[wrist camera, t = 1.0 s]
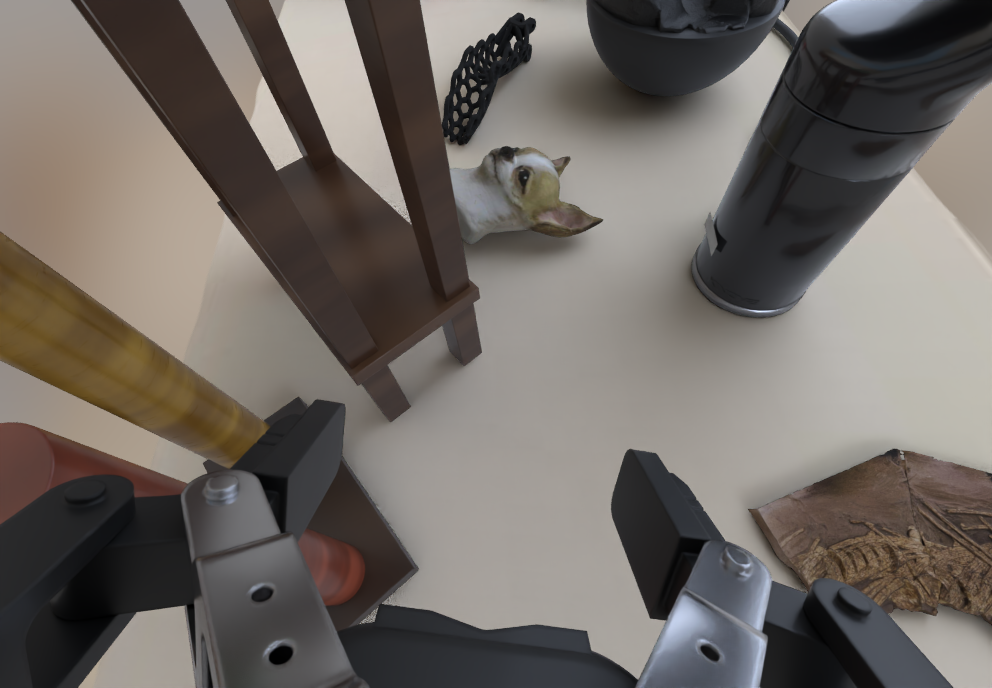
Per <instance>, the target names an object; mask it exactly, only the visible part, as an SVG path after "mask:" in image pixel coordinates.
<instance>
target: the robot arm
mask: <svg viewBox="0 0 992 688" xmlns="http://www.w3.org/2000/svg"><path fill="white" fill-rule="evenodd" d="M789 1H790V0H785V3H784V7H783V9H782V11H783V12H784V10H785V8H786V7H787V5H788V3H789ZM773 27H774V28H775V29H776V30H777V31H779V32H780V33H781V34H782V35H783V36H784V37H785V38H786V39H787V40H788V41H789V43H790V44H791V45H792V47H793V50H792V52H791V54H790V56H789V58H788V61H787V63H786V65H785V67H784V69H783V71H782V73H781V75H780V78H779V80H778V82H777V84H776V86H775V88H774V90H773V92H772V94H771V97H770V99H769V101H768V103H767V105H766V107H765V109H764V111H763V114H762V116H761V118H760V120H759V123H758V125H757V127H756V129H755V131H754V133H753V135H752V137H751V139H750V142H749V144H748V146H747V148H746V150H745V152H744V154H743V156H742V158H741V161H740V163H739V165H738V167H737V169H736V171H735V173H734V175H733V178H732V180H731V182H730V184H729V186H728V188H727V190H726V192H725V194H724V197H723V199H722V201H721V203H720V205H719V207H718V209H717V211H716V213H715V216H714V218H713V220H712V217H711V213H709V215H708V218H707V220H706V222H705V224H704V225H705V229H706V234H705V236H704V238H703V241H702V243H701V244H700V245H699V247H698V248H697V250H696V253H695V255H694V257H693V260H692V274H693V278H694V280H695V283H696V284H697V286H698V288H699V289H700V290H701V292H702V293H703V294H704V295H705V296H706V297H707V298H708V299H709V300H711V301H712V302H713V303H715V304H716V305H718V306H719V307H721V308H723V309H725V310H727V311H730V312H732V313H735V314H739V315H743V316H748V317H770V316H775V315H779V314H782V313H784V312H786V311H788V310H789V309H791V308H792V307H793V306H794V305H795V304H796V303H797V302H798V301H799V300H800V299H801V298H802V296H803V295H804V294H805V292H806V290H807V289H808V288H809V286H810V285H811V284H812V283H813V282H814V281H815V280H816V278H817V277H818V276H819V275H820V274H821V273H822V272H823V271H824V270H825V268H826V267H827V266H828V265H829V264H830V263H831V261H832V260H833V259H834V258H835V257H836V256H837V255H838V253H839V252H840V251H841V250H842V249H843V248H844V246H845V245H846V244H847V243H848V242H849V241H850V240H851V238H852V237H853V236H854V235H855V234H856V233H857V231H858V230H859V229H860V228H861V227H862V226H863V225H864V223H865V222H866V221H867V220H868V219H869V218H870V216H871V215H872V214H873V213H874V212H875V211H876V209H877V208H878V207H879V206H880V205H881V204H882V203H883V201H884V200H885V199H886V198H887V197H888V196H889V194H890V193H891V192H892V191H893V190H894V189H895V188H896V186H897V185H898V184H899V183H900V182H901V181H902V179H903V178H904V177H905V176H906V175H907V174H908V173H909V171H910V170H911V169H912V168H913V167H914V165H915V164H916V163H917V162H918V161H919V159H920V158H921V157H922V156H923V155H924V154H925V152H926V151H927V150H928V149H929V148H930V147H931V146H932V144H933V143H934V142H935V141H936V140H937V139H938V137H939V136H940V135H941V134H942V133H943V132H944V130H945V129H946V128H947V127H948V126H949V125H950V124H951V123H952V121H953V120H954V119H955V118H956V117H957V116H958V115H959V114H960V113H961V112H962V111H963V109H964V108H965V107H966V106H967V105H968V104H969V103H970V101H971V100H972V99H973V98H974V97H975V96H976V95H977V94H978V93H979V92H980V91H982V90H983V89H984V88H986V87H987V86H988V85H989V84H991V83H992V0H835V1H833V2H831V3H830V4H828V5H826V6H825V7H823V8H822V9H821V10H819V11H818V12H817V13H816V14H815V15H814V16H813V17H812V18H811V19H810V21H809V22H808V23H807V24H806V26H805V27H804V29H803V30H802V32H801V34H800V36H799V37H797V35H796V34H795V33H794V32H793V31H792V30H791V29H790V28H789V27H788V26H787V25H785V24H784V23H783V22H782V21H781V20H779V19H777V20H776V22H775V24H774V26H773ZM344 422H345V405H344V404H343V403H337V402H331V401H324V400H318V399H317V400H315V401H314V402H313V403H312V404H311V406H310V407H309V408H308V409H307V410H306V411H305V412H304V413H303V415H297V414H291V415H289V416H287V417H284V418H282V419H280V420H278V421H276V422H275V423H274V424H273V425H272V426H271V427H270V428H269V429H268V430H267V431H266V433H265V434H263V435H262V436H261V437H260V438H259V439H258V440H257V443H254V444H253V445H252V446H251V448H250V449H249V450H248V451H247V452H246V453H245V454H244V455H243V456H242V457H241V458H240V459H239V460H238V461H237V462H236V463H235V464H234V465H233V466H232V467H231V468H230V469H229V470H220V471H215V472H211V473H207V474H204V475H202V476H200V477H198V478H196V479H194V480H192V481H191V482H190V483H188V484H187V485H186V486H185V488H184V489H183V491H182V493H181V494H177V495H166V496H150V497H135V495H134V485H133V483H132V482H131V481H130V480H129V479H127V478H125V477H122V476H118V475H109V474H103V475H91V476H86V477H81V478H77V479H73V480H70V481H67V482H65V483H62V484H60V485H57V486H56V487H54V488H52V489H50V490H48V491H47V492H45V493H44V494H42V495H41V496H40V497H38V498H37V499H35V500H34V501H33V502H31V503H30V504H28V505H27V506H26V507H24V508H23V509H21V510H20V511H19V512H17V513H16V514H14V515H13V516H12V517H10V518H9V519H7V520H6V521H5V522H3V523H2V524H0V688H78V687H79V685H80V684H81V683H82V682H83V680H84V679H85V678H86V676H87V675H88V674H89V673H90V671H91V670H92V669H93V667H94V666H95V665H96V664H97V662H98V661H99V660H100V659H101V657H102V656H103V655H104V653H105V652H106V651H107V650H108V648H109V647H110V646H111V645H112V643H113V642H114V641H115V639H116V638H117V637H118V636H119V634H120V633H121V632H122V630H123V629H124V628H125V627H126V625H127V624H128V623H129V622H130V620H131V619H132V618H133V616H134V615H135V614H136V612H141V611H148V610H155V609H163V608H170V607H177V606H184V605H185V614H186V621H187V628H188V635H189V642H190V649H191V656H192V663H193V670H194V677H195V685H196V688H759V687H760V688H953V687H952V685H951V684H950V683H949V682H948V681H947V680H946V679H945V678H944V677H943V675H942V674H941V673H940V672H939V671H938V670H937V669H936V668H935V666H934V665H933V664H932V663H931V662H930V661H929V660H928V659H927V657H926V656H925V655H924V654H923V653H922V652H921V651H920V650H919V649H918V647H917V646H916V645H915V644H914V643H913V642H912V641H911V640H910V638H909V637H908V636H907V635H906V634H905V633H904V632H903V631H902V630H901V628H900V627H899V626H898V625H897V624H896V623H895V622H894V621H893V619H892V618H891V617H890V616H889V615H888V614H887V613H886V612H885V611H884V610H883V609H882V608H881V607H880V606H879V605H878V604H877V603H876V602H875V601H873V600H872V599H871V598H870V597H868V596H867V595H865V594H864V593H862V592H861V591H859V590H857V589H855V588H854V587H852V586H850V585H847V584H845V583H843V582H840V581H837V580H833V579H829V578H819V579H816V580H815V581H814V582H813V584H812V586H811V588H810V590H809V592H808V594H807V593H804V592H801V591H798V590H796V589H793V588H790V587H788V586H785V585H782V584H779V583H777V582H774V581H772V577H771V574H770V572H769V570H768V569H767V567H766V566H765V565H764V564H763V563H762V562H761V561H760V560H759V559H758V558H757V557H756V556H754V555H753V554H752V553H750V552H749V551H747V550H745V549H743V548H742V547H740V546H737V545H735V544H732V543H730V542H726V541H725V540H724V538H723V537H722V535H721V534H720V532H719V531H718V529H717V528H716V526H715V525H714V524H713V522H712V521H711V519H710V518H709V516H708V515H707V513H706V512H705V511H703V507H702V506H701V504H700V503H699V502H698V501H697V500H696V497H695V496H694V494H693V493H692V491H691V490H690V488H689V487H688V485H686V484H685V483H684V482H683V481H682V480H680V479H679V478H678V477H677V476H676V475H674V474H673V473H669V472H668V470H667V469H666V467H665V466H664V464H663V463H662V461H661V460H660V458H659V456H658V455H657V454H656V453H652V452H645V451H639V450H633V449H629V450H628V451H627V452H626V453H625V456H624V459H623V462H622V465H621V469H620V472H619V475H618V479H617V482H616V485H615V489H614V492H613V496H612V502H611V512H612V518H613V521H614V523H615V526H616V529H617V531H618V534H619V537H620V539H621V542H622V545H623V547H624V550H625V553H626V555H627V558H628V561H629V563H630V566H631V569H632V571H633V574H634V577H635V579H636V582H637V584H638V587H639V590H640V592H641V595H642V598H643V600H644V603H645V606H646V608H647V611H648V614H649V616H650V618H651V619H659V620H666V623H665V625H664V627H663V629H662V631H661V633H660V636H659V638H658V640H657V642H656V644H655V646H654V648H653V651H652V653H651V655H650V657H649V659H648V661H647V663H646V665H645V668H644V670H643V672H642V674H641V676H640V678H639V680H637V679H636V678H635V677H634V676H633V675H632V674H630V673H629V672H628V671H626V670H625V669H624V668H622V667H621V666H620V665H618V664H616V663H615V662H613V661H612V660H610V659H608V658H606V657H604V656H602V655H600V654H598V653H596V652H594V651H591V648H590V643H589V638H588V634H587V631H582V630H575V629H567V628H559V627H552V626H544V625H529V626H520V627H511V628H503V629H494V630H482V629H479V628H476V627H473V626H471V625H468V624H466V623H463V622H460V621H458V620H455V619H452V618H450V617H447V616H444V615H442V614H439V613H436V612H434V611H430V610H423V609H415V608H407V607H400V606H392V605H385V604H379V607H378V611H377V615H376V618H375V622H371V623H364V624H359V625H355V626H351V627H348V628H345V629H342V630H339V631H337V632H336V629H335V627H334V625H333V623H332V620H331V618H330V616H329V613H328V611H327V609H326V606H325V604H324V602H323V600H322V597H321V595H320V593H319V590H318V588H317V586H316V584H315V581H314V579H313V577H312V574H311V572H310V570H309V568H308V565H307V563H306V561H305V558H304V556H303V554H302V551H301V549H300V547H299V545H298V541H299V540H300V538H301V536H302V534H303V533H304V531H305V529H306V527H307V526H308V524H309V522H310V520H311V519H312V517H313V515H314V513H315V512H316V510H317V508H318V506H319V504H320V503H321V501H322V499H323V497H324V496H325V494H326V492H327V490H328V489H329V487H330V485H331V483H332V482H333V480H334V478H335V476H336V474H337V471H338V469H339V465H340V461H341V456H342V446H343V434H344Z"/></svg>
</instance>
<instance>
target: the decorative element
mask: <svg viewBox="0 0 992 688" xmlns="http://www.w3.org/2000/svg"><path fill="white" fill-rule="evenodd" d="M524 20H525V19H524V15H523V14H521V13H517V14H515V15H514V16H513V17H510V18H509V19H508V21H507V22H506V23H505V24H504V25H503V27H502V28H501V29H500V31H499V32H498V33H497V34H496V36H495V34H493V33H492V34H490V35H489V36H488V38H487V40H486V42H485V41H484V40H482V39H481V40H480V41H478V43H477V45H476V46H475V48H474V47H473V46H469V47H468V48H467V49H466V50H465V51H464V54H463V56H462V59H461V62H460V64H459V66H458V69H456V70H455V71H454V72H453V75H452V78H451V86H450V92H449V95H448V96H447V97H446V99H445V104H444V118H443V122H442V129H443V135H444V137H447V136H448V135H449V136H450V142H454V141H455V140H458V141H457V143H458V144H459V145H461V144H462V143H465V144H467V142H468V141H469V139H470V138H471V136H472V135H473V133H474V132H475V131H476V129H477V128H478V126H479V124H480V123H481V121H482V119H483V117H484V115H485V113H486V111H487V108H488V106H489V104H490V101H491V98H492V95H493V92H494V89H495V87H496V84H497V81H498V79H499V78H500V77H502V76H504V75H506V74H508V73H509V72H511V71H512V70H513V69H515V68H516V67H517V66H518V65H519V64H520V63H521V62H522V61H529V60H530V58H531V53H532V45H530V44H528V43H529V34H530V33H532V32H533V31H534V30H535V27H536V21H535V19H533V18H531V17H529V18H528V19H527V20H525V21H524ZM513 36H516V40H517V42H516V43H515V45H514V50H512V48H511V44H510V40H511V39H512V37H513ZM523 37H524V40H523ZM495 44H497V45H498V48H497V50H496V52H494V51H493V49H494V45H495ZM489 45H490V46H489ZM518 47H519V52H518ZM479 50H480V52H479ZM484 51H485V59H484V57H483V55H484ZM478 52H479V53H478ZM468 54H469V57H468ZM490 55H491V57H492V60H493V62H491V61H490ZM499 56H500V57H502V59H501V60H500V61H497V57H499ZM467 57H468V61H467V62H466V60H467ZM508 57H509V58H508ZM473 58H475V64H474V63H473ZM507 58H508V61H507ZM480 61H481V63H482V66H483V68H482V67H481V66H480ZM488 66H490V68H488ZM470 67H471V69H472V70H473V73H474V74H472V73H470ZM463 68H465V73H466V75H465V78H464V79H462V71H463ZM478 71H479V72H480V73H479V72H478ZM456 79H457V85H456ZM470 79H472V80H474V81H475V82H476V83H477V84H476V86H474V87H472V88H471V86H470V83H469V80H470ZM480 79H482V80H480ZM462 85H465V86H466V89H467V94H466V97H463V98H462V96H461V92H460V89H461V86H462ZM481 85H487V87H486V88H485V89H484V90H483V91H482V89H481ZM455 87H456V88H455ZM474 92H478V94H479V98H478V101H477V102H476V103H473V104H472V102H471V100H470V98H471V95H472V93H474ZM454 94H456V97H457V104H456V106H454V102H453V97H454ZM485 98H486V99H485ZM462 103H467V105H468V107H469V109H468V112H467V113H462V110H461V106H462ZM478 107H479V110H478V112H477V114H473V115H472V113H473V110H474V109H476V108H478ZM454 111H456V112H457V114H458V116H459V118H458V120H457V121H456V122H454V119H453V113H454ZM466 118H468V119H469V121H468V122H467V125H466V126H463V125H462V122H463V119H466ZM448 120H449V124H450V126H449V129H448ZM454 127H458V128H459V132H458V134H454V132H453V131H454ZM464 132H465V134H464ZM463 134H464V136H463ZM462 136H463V137H462Z"/></svg>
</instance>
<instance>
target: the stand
mask: <svg viewBox="0 0 992 688" xmlns="http://www.w3.org/2000/svg"><path fill="white" fill-rule="evenodd" d="M71 1H72V3H73V4H74V5H75V7H76V8H77V9H78V11H79V12H80V13H81V15H82V16H83V17H84V19H85V20H86V21H87V23H88V24H89V25H90V27H91V28H92V29H93V31H94V32H95V33H96V35H97V36H98V37H99V38H100V40H101V41H102V43H103V44H104V45H105V47H106V48H107V49H108V51H109V52H110V53H111V55H112V56H113V57H114V59H115V60H116V61H117V63H118V64H119V65H120V67H121V68H122V69H123V71H124V72H125V74H126V75H127V76H128V77H129V79H130V80H131V81H132V83H133V84H134V85H135V87H136V88H137V90H138V91H139V92H140V93H141V95H142V96H143V98H144V99H145V100H146V102H147V103H148V104H149V105H150V107H151V108H152V110H153V111H154V112H155V114H156V115H157V116H158V118H159V119H160V120H161V122H162V123H163V124H164V126H165V127H166V128H167V130H168V131H169V132H170V134H171V135H172V136H173V137H174V139H175V140H176V142H177V143H178V144H179V146H180V147H181V148H182V150H183V151H184V152H185V154H186V155H187V156H188V158H189V159H190V160H191V162H192V163H193V164H194V166H195V167H196V168H197V170H198V171H199V172H200V174H201V175H202V176H203V178H204V179H205V180H206V182H207V183H208V184H209V186H210V187H211V188H212V190H213V191H214V192H215V194H216V195H217V196H218V198H219V199H220V200H221V201H219V202H218V204H219V206H220V207H221V208H222V210H223V211H224V212H225V214H226V215H227V216H228V218H229V219H230V220H231V221H232V223H233V224H234V225H235V227H236V228H237V229H238V231H239V232H240V233H241V234H242V236H243V237H244V238H245V240H246V241H247V242H248V244H249V245H250V246H251V247H252V249H253V250H254V251H255V253H256V254H257V255H258V257H259V258H260V259H261V260H262V262H263V263H264V264H265V266H266V267H267V268H268V270H269V271H270V272H271V273H272V275H273V276H274V277H275V279H276V280H277V281H278V283H279V284H280V285H281V287H282V288H283V289H284V290H285V292H286V293H287V294H288V296H289V297H290V298H291V300H292V301H293V302H294V303H295V305H296V306H297V307H298V309H299V310H300V311H301V313H302V314H303V315H304V316H305V318H306V319H307V320H308V322H309V323H310V324H311V326H312V327H313V328H314V329H315V331H316V332H317V333H318V335H319V336H320V337H321V339H322V340H323V341H324V342H325V344H326V345H327V346H328V348H329V349H330V350H331V352H332V353H333V354H334V356H335V357H336V358H337V359H338V361H339V362H340V363H341V365H342V366H343V367H344V369H345V370H346V371H347V372H348V374H349V375H350V376H351V378H352V379H353V380H354V382H355V383H356V384H357V385H360V384H362V385H363V387H364V388H365V389H366V391H367V392H368V394H369V395H370V396H371V398H372V399H373V400H374V402H375V403H376V405H377V406H378V407H379V408H380V410H381V411H382V412H383V414H384V415H385V416H386V417H387V419H388V420H389V421H390V422H392V421H393V420H394V419H396V418H397V417H398V416H400V415H401V414H402V413H403V412H405V411H406V410H407V409H409V408H410V407H411V406H410V404H409V402H408V401H407V399H406V397H405V395H404V394H403V392H402V390H401V388H400V387H399V385H398V383H397V381H396V380H395V378H394V376H393V374H392V373H391V371H390V369H389V367H388V366H387V365H388V364H389V363H390V362H392V361H393V360H395V359H396V358H397V357H399V356H400V355H401V354H403V353H404V352H406V351H407V350H408V349H410V348H411V347H413V346H414V345H415V344H417V343H418V342H420V341H421V340H422V339H424V338H425V337H427V336H428V335H429V334H431V333H432V332H434V331H435V330H436V329H438V328H439V327H441V326H442V327H443V330H444V333H445V337H446V340H447V343H448V347H449V350H450V352H451V353H452V354H453V355H454V356H455V357H456V358H457V359H458V361H459V362H460V363H461V364H462V365H463V366H465V365H466V364H467V363H469V362H470V361H471V360H473V359H474V358H475V357H477V356H478V355H479V354H480V353H482V350H481V344H480V339H479V333H478V327H477V322H476V316H475V310H474V305H473V303H474V302H475V301H477V300H478V299H480V295H479V288H478V287H477V286H476V285H475V284H474V283H473V282H472V281H471V280H469V276H468V271H467V265H466V259H465V254H464V248H463V243H462V237H461V231H460V226H459V220H458V214H457V209H456V203H455V197H454V192H453V186H452V180H451V175H450V169H449V163H448V158H447V152H446V146H445V141H444V135H443V129H442V124H441V118H440V112H439V107H438V101H437V95H436V90H435V84H434V78H433V73H432V67H431V61H430V56H429V50H428V44H427V39H426V33H425V27H424V22H423V16H422V10H421V5H420V0H345V3H346V6H347V9H348V13H349V16H350V19H351V23H352V26H353V29H354V33H355V36H356V39H357V43H358V46H359V49H360V53H361V56H362V59H363V63H364V66H365V69H366V73H367V76H368V79H369V83H370V86H371V89H372V93H373V96H374V99H375V103H376V106H377V109H378V113H379V116H380V120H381V123H382V126H383V130H384V133H385V136H386V140H387V143H388V146H389V150H390V153H391V156H392V160H393V163H394V166H395V170H396V173H397V176H398V180H399V183H400V186H401V190H402V193H403V196H404V200H405V203H406V206H407V210H408V213H409V216H410V220H411V223H412V226H413V227H412V226H411V225H410V224H409V223H408V222H407V221H406V220H405V219H404V218H403V217H402V216H401V215H400V214H398V213H397V212H396V211H395V210H394V209H393V208H392V207H391V206H390V205H389V204H388V203H387V202H386V201H385V200H383V199H382V198H381V197H380V196H379V195H378V194H377V193H376V192H375V191H374V190H373V189H372V188H371V187H369V186H368V185H367V184H366V183H365V182H364V181H363V180H362V179H361V178H360V177H359V176H358V175H357V174H355V173H354V172H353V171H352V170H351V169H350V168H349V167H348V166H347V165H346V164H345V163H344V162H343V161H342V160H340V159H339V158H338V157H337V156H336V155H335V154H334V153H333V151H332V148H331V146H330V144H329V141H328V139H327V137H326V134H325V132H324V129H323V127H322V125H321V122H320V120H319V118H318V115H317V113H316V111H315V108H314V106H313V103H312V101H311V99H310V96H309V94H308V92H307V89H306V87H305V85H304V82H303V80H302V78H301V75H300V73H299V70H298V68H297V66H296V63H295V61H294V59H293V56H292V54H291V52H290V49H289V47H288V45H287V42H286V40H285V37H284V35H283V33H282V30H281V28H280V26H279V23H278V21H277V19H276V16H275V14H274V12H273V9H272V7H271V5H270V2H269V0H226V2H227V4H228V6H229V8H230V10H231V12H232V14H233V16H234V18H235V20H236V22H237V24H238V26H239V28H240V30H241V32H242V34H243V36H244V38H245V40H246V42H247V44H248V46H249V48H250V50H251V52H252V54H253V56H254V58H255V61H256V63H257V65H258V67H259V68H260V71H261V73H262V75H263V77H264V79H265V81H266V83H267V85H268V87H269V89H270V91H271V93H272V95H273V97H274V99H275V101H276V103H277V105H278V107H279V109H280V111H281V113H282V115H283V117H284V119H285V121H286V123H287V125H288V127H289V129H290V131H291V133H292V135H293V137H294V139H295V141H296V143H297V146H298V148H299V150H300V152H301V154H302V156H303V157H302V158H300V159H299V160H297V161H295V162H293V163H291V164H289V165H287V166H285V167H283V168H281V169H280V170H278V171H276V170H275V168H274V166H273V164H272V163H271V161H270V159H269V157H268V156H267V154H266V152H265V150H264V149H263V147H262V145H261V143H260V142H259V140H258V138H257V136H256V135H255V133H254V131H253V129H252V128H251V126H250V124H249V122H248V121H247V119H246V117H245V115H244V114H243V112H242V110H241V108H240V107H239V105H238V103H237V101H236V99H235V98H234V96H233V94H232V93H231V91H230V89H229V87H228V86H227V84H226V82H225V81H224V78H223V77H222V75H221V73H220V71H219V70H218V68H217V66H216V65H215V63H214V61H213V59H212V58H211V56H210V54H209V52H208V50H207V49H206V47H205V45H204V43H203V42H202V40H201V38H200V36H199V35H198V33H197V31H196V29H195V28H194V26H193V24H192V22H191V21H190V19H189V17H188V16H187V14H186V12H185V10H184V8H183V7H182V5H181V3H180V1H179V0H71Z"/></svg>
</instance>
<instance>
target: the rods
mask: <svg viewBox="0 0 992 688" xmlns="http://www.w3.org/2000/svg"><path fill="white" fill-rule="evenodd" d="M0 361H2V362H4V363H7V364H9V365H11V366H13V367H15V368H17V369H19V370H21V371H23V372H26V373H28V374H30V375H32V376H34V377H36V378H38V379H40V380H43V381H45V382H47V383H49V384H51V385H53V386H55V387H57V388H59V389H61V390H63V391H66V392H68V393H70V394H72V395H74V396H76V397H78V398H80V399H83V400H85V401H87V402H89V403H91V404H93V405H95V406H97V407H99V408H101V409H104V410H106V411H108V412H110V413H112V414H114V415H116V416H118V417H120V418H122V419H125V420H127V421H129V422H131V423H133V424H135V425H137V426H139V427H142V428H144V429H146V430H148V431H150V432H152V433H154V434H156V435H158V436H160V437H162V438H165V439H167V440H169V441H171V442H173V443H175V444H177V445H179V446H181V447H184V448H186V449H188V450H190V451H192V452H194V453H196V454H198V455H200V456H203V457H205V458H207V459H208V460H207V461H205V462H204V463H203V465H204V467H205V469H206V471H207V473H211V472H215V471H220V470H229V469H230V468H231V467H232V466H233V465H234V464H235V463H236V462H237V461H238V460H239V459H240V458H241V457H242V456H243V455H244V454H245V453H246V452H247V451H248V450H249V449H250V448H251V446H252V445H253V444H254V443H257V440H258V439H259V438H260V437H261V436H262V435H263V434H265V433H266V431H267V430H268V429H269V428H270V427H271V426H272V425H273V424H274V423H275V422H276V421H278V420H280V419H282V418H284V417H287V416H289V415H291V414H297V415H303V413H304V412H305V411H306V410H307V409H308V408H309V407H308V406H307V404H306V403H305V402H304V401H303V400H302V399H301V398H299V397H297V398H296V399H294V400H293V401H292V402H290V403H289V404H287V405H286V406H284V407H283V408H281V409H280V410H279V411H277V412H276V413H274V414H273V415H271V416H270V417H269V418H267V419H266V420H264V421H263V420H262V419H260V418H259V417H257V416H256V415H255V414H253V413H252V412H251V411H249V410H248V409H246V408H245V407H244V406H242V405H241V404H239V403H238V402H237V401H235V400H234V399H232V398H231V397H230V396H228V395H227V394H225V393H224V392H223V391H221V390H220V389H219V388H217V387H216V386H214V385H213V384H212V383H210V382H209V381H207V380H206V379H205V378H203V377H202V376H200V375H199V374H198V373H196V372H195V371H194V370H192V369H191V368H189V367H188V366H187V365H185V364H184V363H182V362H181V361H180V360H178V359H177V358H175V357H174V356H173V355H171V354H170V353H168V352H167V351H166V350H164V349H163V348H162V347H160V346H159V345H157V344H156V343H155V342H153V341H152V340H150V339H149V338H148V337H146V336H145V335H143V334H142V333H141V332H139V331H138V330H136V329H135V328H134V327H132V326H131V325H130V324H128V323H127V322H125V321H124V320H123V319H121V318H120V317H118V316H117V315H116V314H114V313H113V312H111V311H110V310H109V309H107V308H106V307H105V306H103V305H102V304H100V303H99V302H97V301H96V300H94V299H93V298H92V297H91V296H89V295H88V294H86V293H85V292H84V291H82V290H81V289H79V288H78V287H77V286H75V285H74V284H73V283H71V282H70V281H68V280H67V279H66V278H64V277H63V276H61V275H60V274H59V273H57V272H56V271H54V270H53V269H52V268H50V267H49V266H48V265H46V264H45V263H43V262H42V261H41V260H39V259H38V258H36V257H35V256H34V255H32V254H31V253H29V252H28V251H27V250H25V249H24V248H23V247H21V246H20V245H18V244H17V243H16V242H14V241H13V240H11V239H10V238H9V237H7V236H6V235H4V234H3V233H2V232H0ZM103 474H109V475H118V476H122V477H125V478H127V479H129V480H130V481H131V482H132V483H133V485H134V495H135V497H150V496H166V495H177V494H181V493H182V491H183V489H184V488H185V486H186V485H187V483H184V482H182V481H179V480H176V479H174V478H171V477H168V476H166V475H163V474H160V473H158V472H155V471H152V470H150V469H147V468H144V467H141V466H139V465H136V464H133V463H131V462H128V461H126V460H123V459H120V458H117V457H115V456H112V455H109V454H107V453H104V452H101V451H99V450H96V449H93V448H91V447H88V446H85V445H83V444H80V443H77V442H75V441H72V440H69V439H67V438H64V437H61V436H59V435H56V434H53V433H51V432H48V431H45V430H43V429H40V428H37V427H35V426H32V425H28V424H24V423H0V524H2V523H3V522H5V521H6V520H7V519H9V518H10V517H12V516H13V515H14V514H16V513H17V512H19V511H20V510H21V509H23V508H24V507H26V506H27V505H28V504H30V503H31V502H33V501H34V500H35V499H37V498H38V497H40V496H41V495H42V494H44V493H45V492H47V491H48V490H50V489H52V488H54V487H56V486H57V485H60V484H62V483H65V482H67V481H70V480H73V479H77V478H81V477H86V476H91V475H103ZM298 545H299V547H300V549H301V551H302V554H303V556H304V558H305V561H306V563H307V565H308V568H309V570H310V572H311V574H312V577H313V579H314V581H315V584H316V586H317V588H318V590H319V593H320V595H321V597H322V600H323V602H324V604H325V606H326V609H327V611H328V613H329V616H330V618H331V620H332V623H333V625H334V627H335V629H336V632H337V631H339V630H342V629H345V628H348V627H351V626H355V625H358V624H359V623H360V622H361V621H362V620H364V619H365V618H366V617H367V616H368V615H369V614H370V613H371V612H372V611H374V610H375V609H376V608H377V607H378V606H379V604H381V603H382V602H384V601H385V600H386V599H387V598H388V597H389V596H390V595H391V594H393V593H394V592H395V591H396V590H397V589H398V588H399V587H400V586H401V585H403V584H404V583H405V582H406V581H407V580H408V579H409V578H410V577H412V576H413V575H414V574H415V573H416V572H417V571H418V570H419V568H418V567H417V565H416V564H415V563H414V561H413V560H412V558H411V557H410V555H409V554H408V552H407V551H406V549H405V548H404V546H403V545H402V543H401V542H400V541H399V539H398V538H397V536H396V535H395V533H394V532H393V530H392V529H391V527H390V526H389V524H388V523H387V521H386V520H385V519H384V517H383V516H382V514H381V513H380V511H379V510H378V508H377V507H376V505H375V504H374V502H373V501H372V499H371V498H370V497H369V495H368V494H367V492H366V491H365V489H364V488H363V486H362V485H361V483H360V482H359V480H358V479H357V477H356V476H355V474H354V473H353V472H352V470H351V469H350V467H349V466H348V464H347V463H346V461H345V460H344V458H343V457H342V456H341V461H340V465H339V469H338V471H337V474H336V476H335V478H334V480H333V482H332V483H331V485H330V487H329V489H328V490H327V492H326V494H325V496H324V497H323V499H322V501H321V503H320V504H319V506H318V508H317V510H316V512H315V513H314V515H313V517H312V519H311V520H310V522H309V524H308V526H307V527H306V529H305V531H304V533H303V534H302V536H301V538H300V540H299V541H298Z"/></svg>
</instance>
